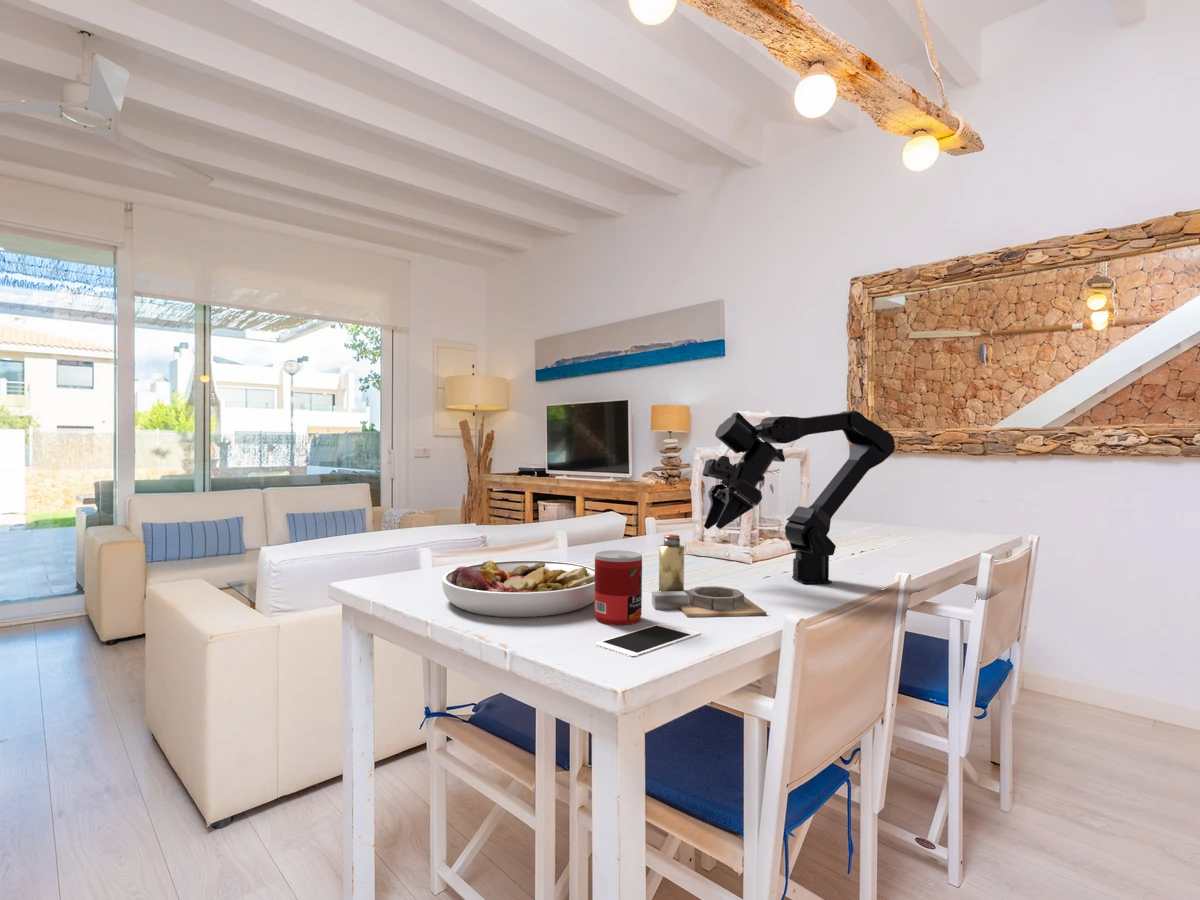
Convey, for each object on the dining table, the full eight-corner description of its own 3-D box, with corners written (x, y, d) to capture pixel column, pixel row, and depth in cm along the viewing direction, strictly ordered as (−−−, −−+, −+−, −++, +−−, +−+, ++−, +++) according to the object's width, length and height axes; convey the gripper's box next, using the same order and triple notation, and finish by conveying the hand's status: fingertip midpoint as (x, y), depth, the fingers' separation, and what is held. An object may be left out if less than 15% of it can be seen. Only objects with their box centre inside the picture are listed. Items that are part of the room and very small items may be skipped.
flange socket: (740, 596, 126) (740, 583, 126) (766, 615, 112) (766, 600, 112) (646, 597, 124) (646, 584, 124) (661, 617, 110) (661, 602, 110)
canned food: (638, 627, 104) (638, 558, 104) (589, 623, 106) (590, 556, 106) (644, 614, 112) (645, 551, 112) (599, 611, 114) (599, 549, 113)
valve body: (680, 587, 133) (681, 533, 133) (686, 593, 128) (687, 537, 128) (656, 588, 133) (657, 534, 132) (661, 593, 128) (662, 537, 127)
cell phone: (701, 636, 101) (701, 632, 101) (633, 660, 90) (633, 655, 90) (662, 626, 107) (662, 622, 107) (593, 647, 95) (593, 643, 95)
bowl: (536, 577, 143) (536, 541, 143) (636, 602, 122) (637, 560, 122) (411, 599, 122) (412, 558, 122) (506, 634, 101) (507, 584, 101)
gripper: (709, 450, 145) (670, 506, 143) (734, 437, 127) (690, 502, 124) (749, 479, 145) (711, 536, 143) (780, 471, 127) (737, 536, 124)
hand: (711, 527), depth 133 cm, fingers open, 9 cm apart
